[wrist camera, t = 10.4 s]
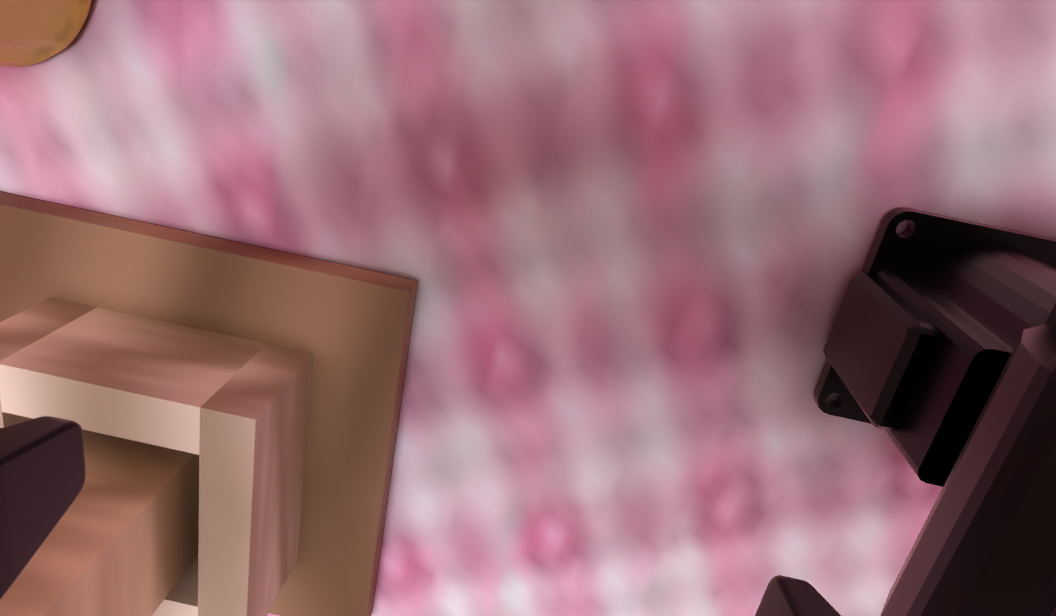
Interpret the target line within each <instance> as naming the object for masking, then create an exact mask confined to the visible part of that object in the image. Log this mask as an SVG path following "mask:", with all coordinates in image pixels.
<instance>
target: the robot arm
mask: <svg viewBox="0 0 1056 616" xmlns="http://www.w3.org/2000/svg"><path fill="white" fill-rule="evenodd" d="M904 220H909V222H910V224H909V228H908V229H907V231H906V232H904V233H902V234H897V233H896V227H897V225H898V224H899V223H900V222H902V221H904ZM824 354H825V356H826V357H827V361H826V364H825V366H824V369H823V371H822V374H821V376H820V379H819V381H818V384H817V386H816V389H815V393H814V398H815V401H816V403H817V405H818V407H819V408H820V409H821V410H822V411H823V412H824V413H827V414H829V415H834V416H839V417H843V418H848V419H853V420H857V421H862V422H867V423H871V424H873V425H874V426H875V427H878V428H883V429H884V430H885V431H886V432H887V434H888V435H889V437H890V438H891V439H892V441H893V442H894V444H895V445H896V446H897V448H898V449H899V451H900V452H901V453H902V455H903V456H904V458H905V459H906V460H907V462H908V463H909V465H910V466H911V467H912V469H913V470H914V472H915V473H916V474H917V476H918V477H919V479H920V480H921V481H923V482H926V483H929V484H934V485H938V486H943V488H942V490H941V492H940V494H939V496H938V498H937V500H936V502H935V504H934V506H933V508H932V510H931V512H930V514H929V516H928V518H927V520H926V522H925V524H924V526H923V528H922V530H921V532H920V534H919V535H918V537H917V539H916V541H915V543H914V545H913V547H912V549H911V551H910V553H909V555H908V557H907V559H906V561H905V563H904V565H903V567H902V569H901V571H900V573H899V575H898V577H897V579H896V581H895V583H894V584H893V586H892V588H891V590H890V592H889V595H888V597H887V600H886V603H885V605H884V608H883V611H882V613H881V616H1056V239H1052V238H1047V237H1043V236H1038V235H1033V234H1028V233H1024V232H1019V231H1014V230H1009V229H1004V228H1000V227H995V226H990V225H985V224H981V223H976V222H971V221H966V220H961V219H957V218H952V217H947V216H942V215H938V214H933V213H928V212H923V211H918V210H914V209H909V208H898V209H895V210H892V211H891V212H890V213H888V214H887V215H886V216H885V218H884V220H883V221H882V223H881V226H880V228H879V231H878V233H877V236H876V238H875V241H874V244H873V246H872V249H871V251H870V254H869V256H868V259H867V261H866V264H865V266H864V269H863V271H862V272H860V273H859V274H857V275H856V276H854V277H853V278H852V279H851V282H850V284H849V287H848V289H847V292H846V294H845V297H844V300H843V302H842V305H841V307H840V310H839V312H838V315H837V317H836V320H835V322H834V325H833V327H832V330H831V332H830V335H829V338H828V340H827V343H826V345H825V348H824ZM833 393H838V394H839V396H838V398H837V399H836V400H834V401H826V398H827V397H828V396H829V395H830V394H833ZM85 476H86V469H85V453H84V438H83V430H82V428H81V426H80V425H79V424H78V423H77V422H75V421H71V420H67V419H62V418H57V417H53V416H42V417H38V418H34V419H31V420H27V421H24V422H20V423H17V424H13V425H10V426H6V427H3V428H0V599H1V598H2V597H3V596H4V595H5V593H6V592H7V591H8V589H9V588H10V587H11V586H12V584H13V583H14V582H15V581H16V579H17V578H18V577H19V575H20V574H21V572H22V571H23V570H24V568H25V567H26V566H27V564H28V563H29V562H30V560H31V559H32V557H33V556H34V555H35V553H36V552H37V551H38V549H39V548H40V547H41V545H42V544H43V543H44V541H45V540H46V538H47V537H48V536H49V534H50V533H51V532H52V530H53V529H54V528H55V526H56V525H57V523H58V522H59V521H60V519H61V518H62V517H63V515H64V514H65V513H66V511H67V510H68V509H69V507H70V506H71V504H72V503H73V502H74V500H75V499H76V498H77V496H78V495H79V493H80V491H81V489H82V487H83V485H84V482H85ZM755 616H841V615H840V614H839V613H838V612H837V611H836V610H835V609H834V608H833V607H832V606H831V605H830V604H829V603H828V602H827V601H826V600H825V599H824V598H823V597H822V596H821V595H820V594H819V593H818V592H817V590H816V589H815V588H814V587H813V586H812V585H810V584H809V583H808V582H806V581H803V580H799V579H795V578H790V577H785V576H781V575H778V576H775V577H773V578H772V579H771V581H770V582H769V584H768V586H767V589H766V591H765V593H764V596H763V598H762V600H761V603H760V605H759V608H758V610H757V612H756V615H755Z"/></svg>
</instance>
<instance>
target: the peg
mask: <svg viewBox="0 0 1056 616" xmlns="http://www.w3.org/2000/svg"><path fill="white" fill-rule="evenodd" d="M82 430H83V429H82ZM83 438H84V453H85V469H86V476H85V482H84V485H83V487H82V489H81V491H80V493H79V495H78V496H77V498H76V499H75V500H74V502H73V503H72V504H71V506H70V507H69V509H68V510H67V511H66V513H65V514H64V515H63V517H62V518H61V519H60V521H59V522H58V523H57V525H56V526H55V528H54V529H53V530H52V532H51V533H50V534H49V536H48V537H47V538H46V540H45V541H44V543H43V544H42V545H41V547H40V548H39V549H38V551H37V552H36V553H35V555H34V556H33V557H32V559H31V560H30V562H29V563H28V564H27V566H26V567H25V568H24V570H23V571H22V572H21V574H20V575H19V577H18V578H17V579H16V581H15V582H14V583H13V584H12V586H11V587H10V588H9V589H8V591H7V592H6V593H5V595H4V596H3V597H2V598H1V599H0V616H152V615H153V613H154V612H155V611H156V610H157V608H158V607H159V606H160V604H161V603H162V602H163V600H164V599H165V598H166V596H167V595H168V594H169V592H170V591H171V590H172V589H173V587H174V586H175V585H176V583H177V582H178V581H179V579H180V578H181V577H182V575H183V574H184V573H185V571H186V570H187V569H188V568H189V566H190V565H191V564H192V562H193V561H194V560H195V558H196V557H197V556H198V542H199V455H197V454H193V453H188V452H184V451H179V450H174V449H170V448H165V447H161V446H156V445H152V444H147V443H142V442H138V441H133V440H129V439H124V438H120V437H115V436H110V435H106V434H101V433H97V432H92V431H87V430H83Z"/></svg>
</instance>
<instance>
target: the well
mask: <svg viewBox="0 0 1056 616" xmlns="http://www.w3.org/2000/svg"><path fill="white" fill-rule="evenodd" d="M417 284H418V281H417V280H413V279H408V278H403V277H399V276H394V275H389V274H384V273H380V272H375V271H370V270H366V269H361V268H356V267H352V266H347V265H342V264H338V263H333V262H328V261H324V260H319V259H314V258H310V257H305V256H300V255H295V254H291V253H286V252H281V251H277V250H272V249H267V248H263V247H258V246H253V245H249V244H244V243H239V242H235V241H230V240H225V239H220V238H216V237H211V236H206V235H202V234H197V233H192V232H188V231H183V230H178V229H174V228H169V227H164V226H160V225H155V224H150V223H145V222H141V221H136V220H131V219H127V218H122V217H117V216H113V215H108V214H103V213H99V212H94V211H89V210H85V209H80V208H75V207H70V206H66V205H61V204H56V203H52V202H47V201H42V200H38V199H33V198H28V197H24V196H19V195H14V194H10V193H5V192H0V428H3V427H6V426H10V425H13V424H17V423H20V422H24V421H27V420H31V419H34V418H38V417H42V416H53V417H57V418H62V419H67V420H71V421H75V422H77V423H78V424H79V425H80V426H81V428H82V429H83V430H87V431H92V432H97V433H101V434H106V435H110V436H115V437H120V438H124V439H129V440H133V441H138V442H142V443H147V444H152V445H156V446H161V447H165V448H170V449H174V450H179V451H184V452H188V453H193V454H197V455H199V542H198V556H197V557H196V558H195V560H194V561H193V562H192V564H191V565H190V566H189V568H188V569H187V570H186V571H185V573H184V574H183V575H182V577H181V578H180V579H179V581H178V582H177V583H176V585H175V586H174V587H173V589H172V590H171V591H170V592H169V594H168V595H167V596H166V598H165V599H164V600H163V602H162V603H161V604H160V606H159V607H158V608H157V610H156V611H155V612H154V613H153V615H152V616H267V614H268V613H272V614H276V615H281V616H371V615H372V610H373V602H374V595H375V588H376V581H377V573H378V566H379V559H380V552H381V544H382V537H383V530H384V523H385V515H386V508H387V501H388V494H389V487H390V479H391V472H392V465H393V458H394V450H395V443H396V436H397V429H398V421H399V414H400V407H401V400H402V393H403V385H404V378H405V371H406V364H407V356H408V349H409V342H410V335H411V327H412V320H413V313H414V306H415V298H416V291H417Z"/></svg>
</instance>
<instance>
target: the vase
mask: <svg viewBox="0 0 1056 616" xmlns="http://www.w3.org/2000/svg"><path fill="white" fill-rule="evenodd" d="M91 1H92V0H0V65H3V66H19V67H22V66H28V65H34V64H36V63H39V62H41V61H44V60H46V59H48V58H49V57H51V56H53V55H55V54H57V53H59V52H60V51H62V50H63V49H65V48H66V47H67V46H68V45H69V44H70V43H71V42H72V41H73V40H74V39H75V37H76V36H77V35H78V33H79V31H80V30H81V28H82V26H83V24H84V22H85V20H86V18H87V16H88V13H89V9H90V6H91Z"/></svg>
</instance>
